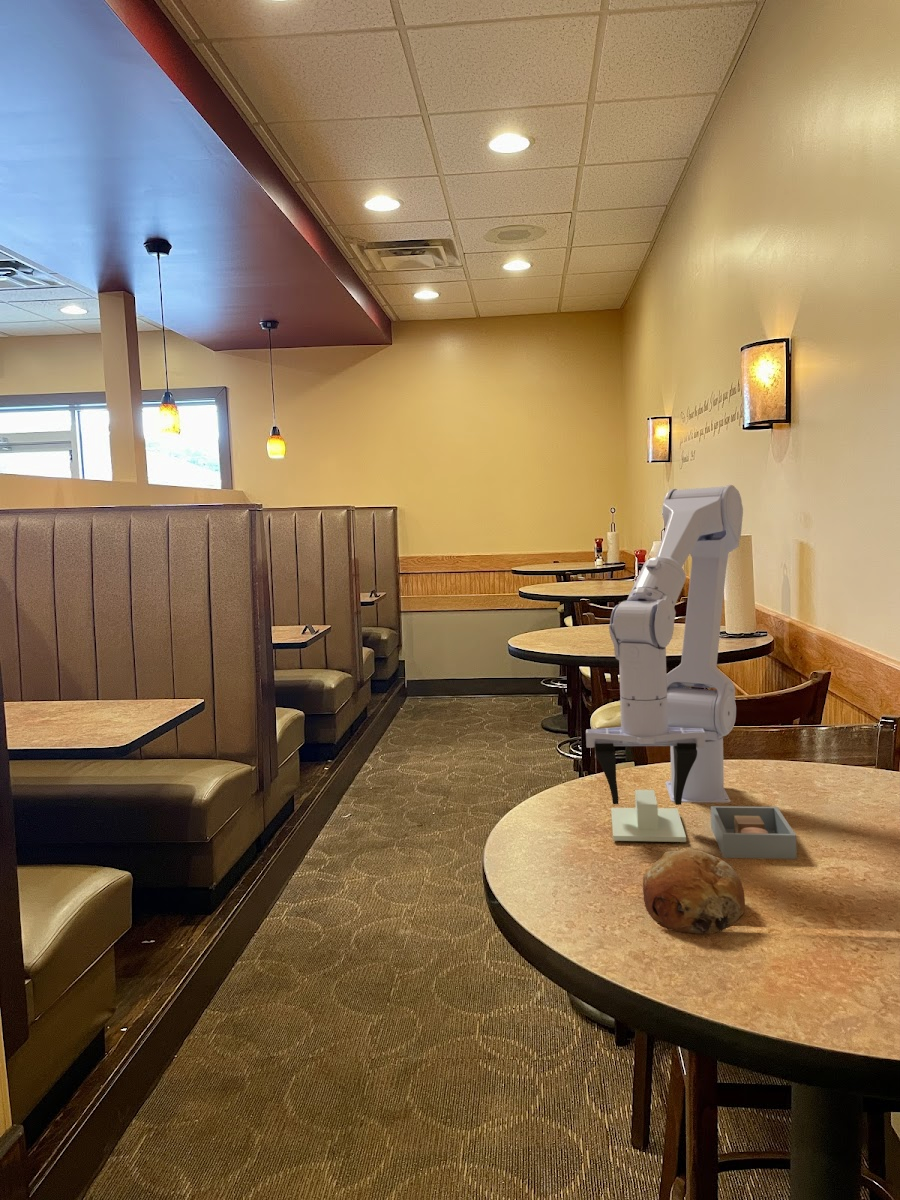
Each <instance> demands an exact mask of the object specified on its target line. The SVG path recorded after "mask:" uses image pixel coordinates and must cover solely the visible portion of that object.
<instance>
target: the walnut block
mask: <svg viewBox="0 0 900 1200" xmlns="http://www.w3.org/2000/svg"><path fill="white" fill-rule="evenodd" d="M748 827H756V828H761V829H764V823H763V821H762V819H761V818H760V816H734V833H741V830H742V829H743V828H748Z"/></svg>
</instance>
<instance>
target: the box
mask: <svg viewBox="0 0 900 1200" xmlns="http://www.w3.org/2000/svg"><path fill="white" fill-rule="evenodd" d="M734 816H760V818H761V819H762V821H763V823H764V830H766V831H768V833H734ZM710 828H711V831H712V833H713V836H714V838H715V840H716V843H717V845H718V846H717V847H718V848H719V851H720V853H721V856H722V858H724V859H727V858H729V859H763V860H764V859H765V860H766V859H767V860H768V859H769V860H771V859H774V860H776V859H777V860H782V859H783V860H797V859H798V857H797V855H798V853H797V834H796V833H795V831H794V830H793V828H792V827H791V825H790V824H789V822H788V821H787V819H786V818H785V816H784V815H783V813H782V812H781V810H780V809H779V807H778V806H738V805H737V806H730V805H729V806H727V805H726V806H722V805H721V806H720V805H717V806H716V805H715V806H714V805H711V806H710Z"/></svg>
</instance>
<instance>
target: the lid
mask: <svg viewBox="0 0 900 1200" xmlns="http://www.w3.org/2000/svg"><path fill="white" fill-rule="evenodd" d="M634 793H635V794H634V795H635V796H634V798H635V799H634V802H635V806H634V807H610V814H611V828H612V841H616V842H618V841H620V842H665V843H667V842H669V843H670V842H671V843H674V842H675V843H676V842H677V843H679V842H680V843H687V836H686V832H685V828H684V826H683V823H682V820H681V816H680V813H679V812H680V811H679V810H678V808H677V807H676V808H673V807H672V808H671V807H669V808H667V807H665V808H663V807H661V808H660V807H658V800H657V797H656V794H655V793H656V792H655V790H654V789H634Z"/></svg>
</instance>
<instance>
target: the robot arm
mask: <svg viewBox="0 0 900 1200" xmlns="http://www.w3.org/2000/svg"><path fill="white" fill-rule="evenodd" d="M661 511H662V518H663V522H664V523H663V524H664V528H665V529H664V532H663V534H662V537H661V541H660V543H659V547H658V549H657V552H656V556H655V557H651V558H648V559H647V560H646V561H645V562H644V563H643V565H642V567H641V569H640V572H639V574H638V576H637V578H636V580H635V581H634V585H633V586H632V588H631V591H630V592H629V594H628V596H627V599H626V600H622V601H621V602H620V603H619V604H616V605H615V606H614V608H613V609H612V611H611V614H610V620H609V624H608V629H609V634H610V638H611V641H612V644H613V648H614V652H613V653H614V656H615V659H616V660H617V661H618V663H619V665H618V666H619V667H618V668H619V695H620V696H619V698H620V699H619V701H620V726H615V727H603V728H589V729H586V730H585V742H586V743H585V745H586V748H588V749H589V748H590V749H592V748H593V749H594V750H595V751H594V752H595V753H594V754H595V757H596V759H597V761H598V763H599V765H600V766H601V769H602V771H603V773H604V776H605V778H606V781H607V784H608V785H609V791H610V794H611V800H612V805H619V789H618V784H617V783H618V782H617V764H616V763H617V761H616V747H670V750H669V751H670V780H667V781H665V787H666V790H667V792H668V796H669V799H670V802H672V803H674V804H675V805H676V806H682V803H712V804H713V803H715V804H716V803H718V804H719V803H723V804H725V803H726V804H728V803H731V799H730V796H729V795H728V793H727V791H726V789H725V785H724V783H725V781H724V780H725V779H724V776H725V775H724V771H725V770H724V737H725V736H727V735H729V734H730V733H731V732H732V730H733V728H734V725H735V723H736V718H737V705H736V688H735V684H734V682H733V681H732V679H731V678H729V677H728V676H727V675H726V674H725V673H723V672H722V671H721V670H720V668H718V658H719V657H718V656H719V646H720V645H719V644H720V634H721V628H722V627H721V625H722V613H723V604H724V595H725V587H726V586H725V584H726V583H725V582H726V573H727V566H728V560H729V554H730V553H731V552H732V551H734V550H736V549H737V548H739V547H740V539H741V537H742V528H743V527H742V526H743V517H744V516H743V515H744V508H743V503H742V497H741V494H740V492H739V490H738V489H737V488H736V487H735V485H732V484H729V485H726V486H714V487H713V486H712V487H700V488H699V487H698V488H685V489H684V488H683V489H677V488H671V489H669V490H668V491H667V492H666V494H665V496H664V498H663V502H662V510H661ZM689 556H690V557H691V566H690V575H689V585H688V595H687V602H686V603H687V604H686V613H685V614H686V615H685V623H684V624H685V625H684V631H683V632H684V633H683V639H682V640H683V641H682V650H681V651H682V652H681V661H680V663H679V665H678V666H675V668H673V669H672V670H670V671H669V672H668V673H667V650H666V647H667V646H668V645H669V644H670V642H671V641H672V639H673V635H674V628H675V619H676V614H677V611H676V609H675V606H676V604H677V601H678V599H679V597H680V595H681V592H682V589H683V588H684V586H685V582H686V581H687V580H686V579H687V578H686V577H687V576H686V572H685V570H684V568H683V567H684V564H685V563H686V561H687V560H688V557H689ZM703 688H705V689H703ZM715 689H716V690H715Z"/></svg>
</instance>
